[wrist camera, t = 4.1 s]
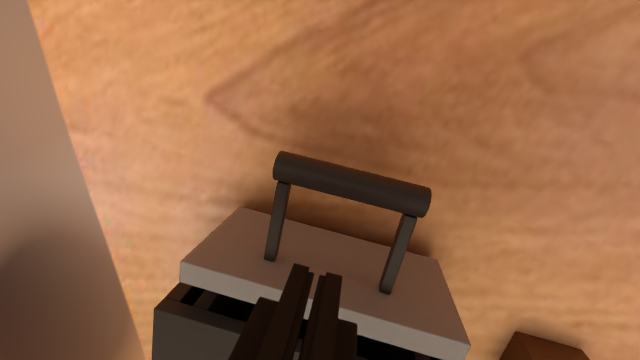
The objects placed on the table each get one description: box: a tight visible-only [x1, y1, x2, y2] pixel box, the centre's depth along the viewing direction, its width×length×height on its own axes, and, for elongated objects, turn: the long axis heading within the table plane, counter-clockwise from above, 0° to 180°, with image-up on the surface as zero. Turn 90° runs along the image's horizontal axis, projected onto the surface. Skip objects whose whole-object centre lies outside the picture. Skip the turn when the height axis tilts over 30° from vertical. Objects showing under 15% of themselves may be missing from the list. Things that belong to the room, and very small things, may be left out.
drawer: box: [179, 151, 471, 360], centre depth 18 cm, size 21×13×7 cm, turn 168°
